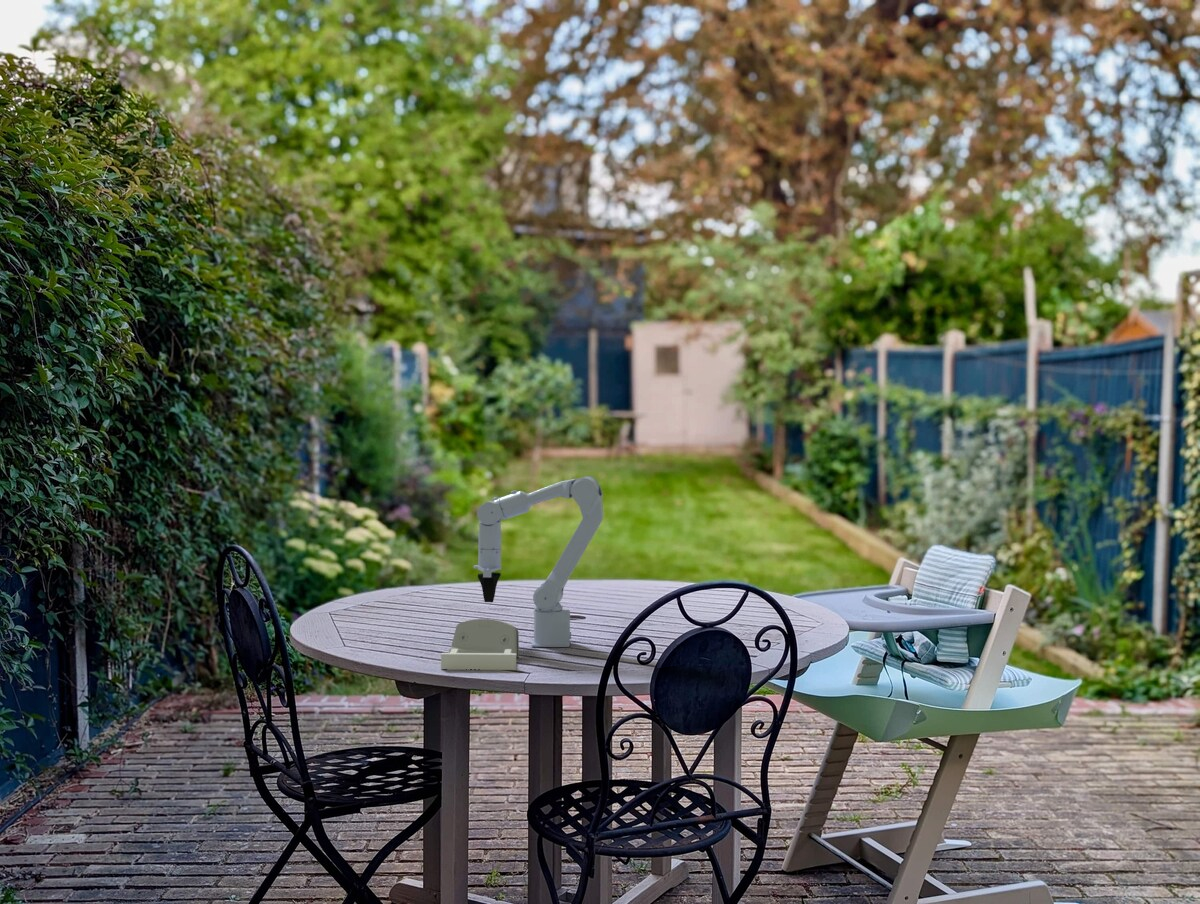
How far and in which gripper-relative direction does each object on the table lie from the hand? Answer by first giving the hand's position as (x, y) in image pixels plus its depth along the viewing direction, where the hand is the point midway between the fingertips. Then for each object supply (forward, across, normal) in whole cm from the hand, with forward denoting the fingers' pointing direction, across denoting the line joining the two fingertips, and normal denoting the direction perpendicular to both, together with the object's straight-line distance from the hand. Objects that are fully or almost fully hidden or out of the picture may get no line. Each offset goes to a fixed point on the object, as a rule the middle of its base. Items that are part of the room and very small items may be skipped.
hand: (488, 601), depth 287 cm
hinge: (+11, +16, +1) cm, 19 cm away
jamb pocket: (+10, +26, 0) cm, 28 cm away
